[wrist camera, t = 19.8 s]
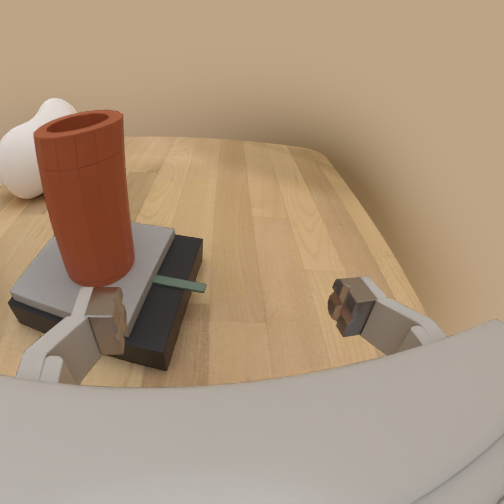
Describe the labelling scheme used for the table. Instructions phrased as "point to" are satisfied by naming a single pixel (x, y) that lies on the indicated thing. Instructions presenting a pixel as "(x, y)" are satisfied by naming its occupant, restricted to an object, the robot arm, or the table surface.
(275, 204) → the table surface
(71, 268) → the jar
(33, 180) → the stomach
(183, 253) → the scale
